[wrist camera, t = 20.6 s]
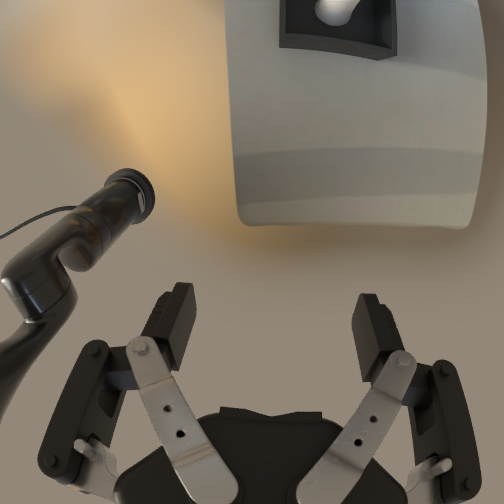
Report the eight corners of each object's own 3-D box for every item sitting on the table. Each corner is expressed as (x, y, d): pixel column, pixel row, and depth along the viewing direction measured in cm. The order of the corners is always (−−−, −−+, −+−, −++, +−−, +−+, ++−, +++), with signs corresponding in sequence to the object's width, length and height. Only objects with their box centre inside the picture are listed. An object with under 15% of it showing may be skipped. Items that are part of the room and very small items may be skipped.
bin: (279, 47, 36) (279, 37, 29) (279, -31, 27) (279, -52, 20) (377, 60, 35) (397, 55, 28) (375, -17, 26) (392, -33, 19)
